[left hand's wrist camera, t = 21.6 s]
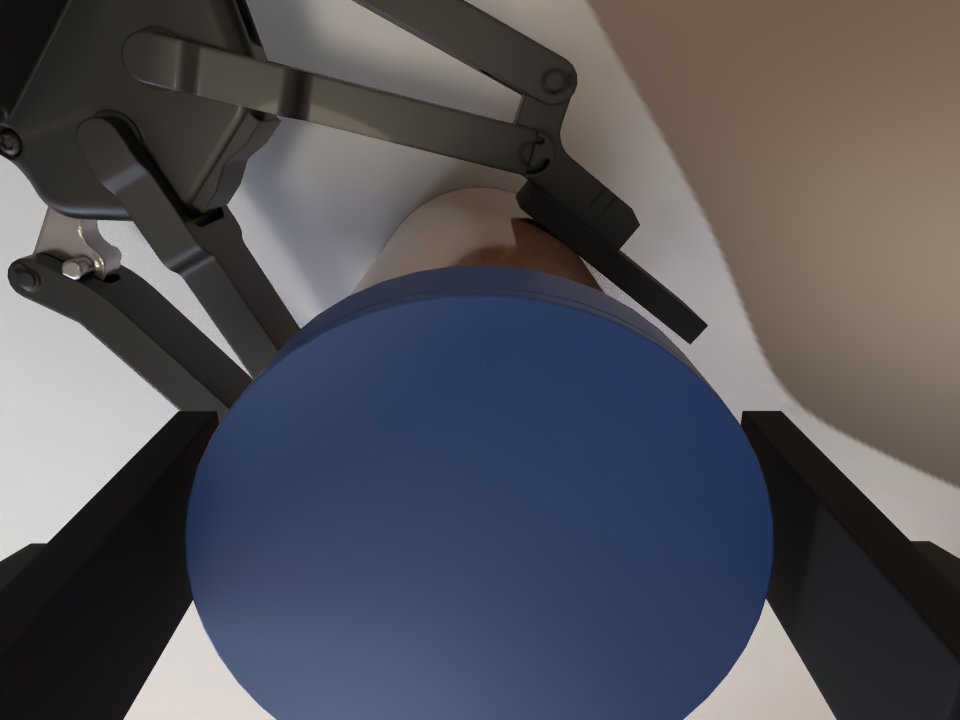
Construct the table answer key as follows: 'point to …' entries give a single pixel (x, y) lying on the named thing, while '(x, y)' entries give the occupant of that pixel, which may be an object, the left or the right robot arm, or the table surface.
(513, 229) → the jar
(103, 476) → the table surface
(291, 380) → the lid
